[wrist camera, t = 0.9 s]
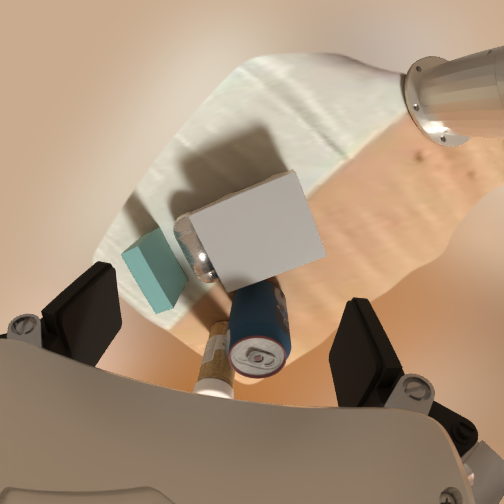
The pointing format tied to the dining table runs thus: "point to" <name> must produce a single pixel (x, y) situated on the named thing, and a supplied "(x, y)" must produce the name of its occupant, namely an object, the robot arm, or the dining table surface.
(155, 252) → the block
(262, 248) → the slab
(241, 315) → the soda can
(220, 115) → the dining table surface
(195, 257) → the cylinder
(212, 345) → the sprinkles bottle
